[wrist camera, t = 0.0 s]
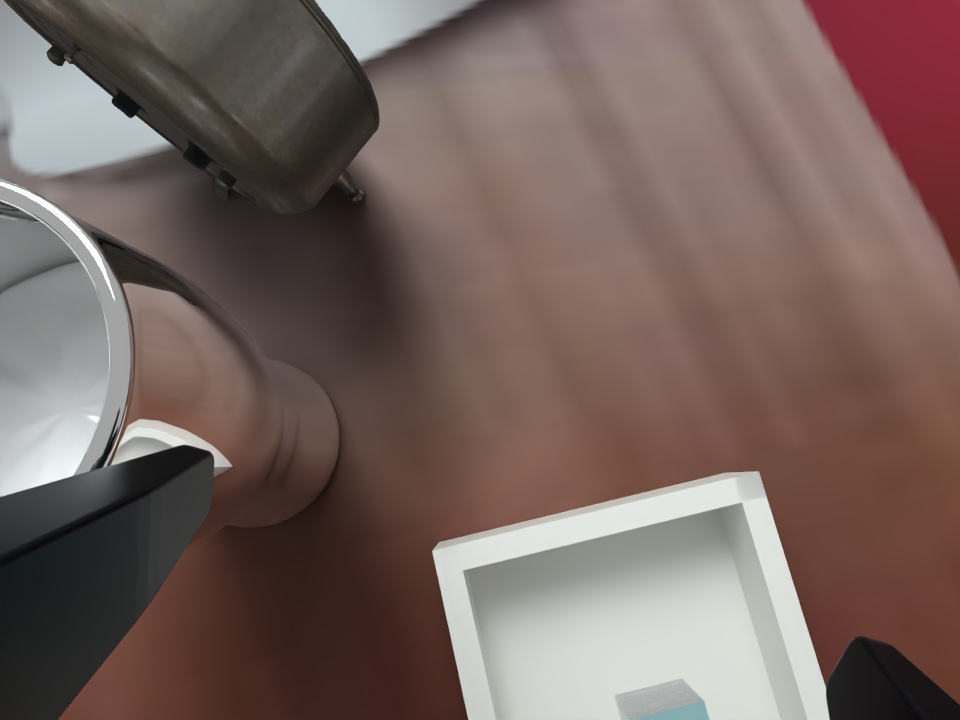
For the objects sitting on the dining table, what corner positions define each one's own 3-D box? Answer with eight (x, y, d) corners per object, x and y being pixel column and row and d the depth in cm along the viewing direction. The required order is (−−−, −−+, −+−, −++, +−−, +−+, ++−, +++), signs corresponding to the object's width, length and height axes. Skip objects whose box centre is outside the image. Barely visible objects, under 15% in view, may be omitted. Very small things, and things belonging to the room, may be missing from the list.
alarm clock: (410, 186, 26) (288, -281, 10) (323, 292, 25) (44, -33, 9) (203, 39, 27) (-194, -581, 11) (115, 135, 27) (-443, -386, 11)
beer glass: (332, 330, 25) (109, 110, 10) (370, 513, 24) (178, 562, 9) (151, 373, 25) (-344, 213, 10) (180, 560, 24) (-336, 691, 9)
